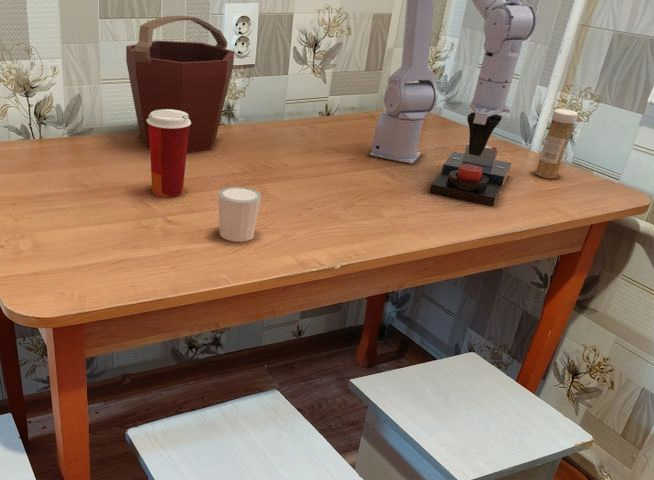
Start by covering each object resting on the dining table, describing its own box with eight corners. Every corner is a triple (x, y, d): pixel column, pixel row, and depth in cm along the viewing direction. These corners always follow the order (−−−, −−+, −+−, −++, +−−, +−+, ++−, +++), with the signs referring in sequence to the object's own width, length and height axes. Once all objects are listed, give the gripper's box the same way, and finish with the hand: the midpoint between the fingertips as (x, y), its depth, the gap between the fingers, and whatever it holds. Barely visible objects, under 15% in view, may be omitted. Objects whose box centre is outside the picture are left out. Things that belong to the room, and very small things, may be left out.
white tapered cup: (214, 225, 118) (216, 185, 114) (254, 226, 118) (258, 186, 114) (217, 243, 112) (220, 201, 108) (260, 243, 113) (264, 202, 109)
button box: (429, 193, 136) (433, 175, 134) (437, 181, 142) (442, 164, 141) (492, 206, 132) (498, 189, 130) (499, 194, 138) (504, 176, 136)
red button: (454, 179, 135) (457, 168, 134) (459, 172, 138) (461, 162, 137) (478, 184, 133) (481, 173, 132) (482, 177, 136) (484, 167, 135)
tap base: (439, 178, 144) (443, 163, 142) (449, 165, 152) (453, 150, 150) (500, 191, 140) (504, 175, 138) (507, 176, 147) (511, 161, 146)
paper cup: (194, 188, 131) (197, 112, 124) (179, 202, 125) (181, 122, 118) (155, 181, 133) (156, 105, 126) (139, 194, 127) (139, 116, 120)
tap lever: (462, 161, 144) (467, 142, 142) (463, 159, 146) (468, 140, 143) (492, 167, 142) (497, 148, 140) (493, 165, 143) (498, 146, 141)
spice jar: (561, 177, 149) (583, 112, 141) (548, 180, 147) (569, 115, 139) (542, 170, 152) (563, 107, 145) (529, 173, 150) (549, 109, 142)
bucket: (146, 162, 142) (147, 28, 128) (105, 131, 158) (101, 9, 144) (249, 149, 153) (259, 24, 139) (200, 121, 169) (206, 6, 155)
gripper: (513, 90, 119) (490, 168, 126) (523, 75, 130) (502, 148, 137) (470, 83, 121) (451, 161, 129) (484, 69, 132) (465, 141, 140)
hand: (474, 154), depth 133 cm, fingers closed
